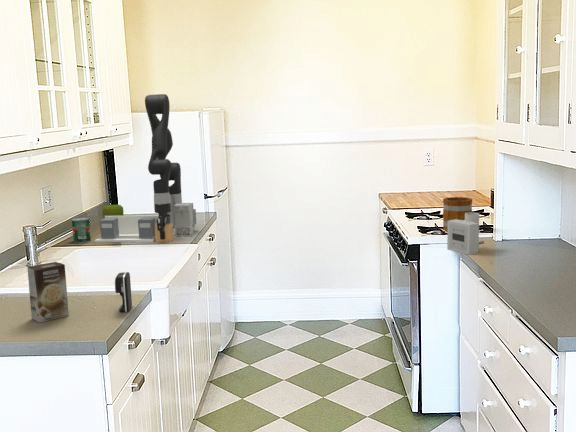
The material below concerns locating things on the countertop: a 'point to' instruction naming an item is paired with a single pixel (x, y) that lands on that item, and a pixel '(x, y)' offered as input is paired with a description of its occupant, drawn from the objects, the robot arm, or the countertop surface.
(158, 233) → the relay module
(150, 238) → the rail
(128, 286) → the battery charger
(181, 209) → the circuit breaker
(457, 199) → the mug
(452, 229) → the thermostat
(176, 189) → the robot arm
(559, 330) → the countertop surface
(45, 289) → the coffee box
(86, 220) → the canned tomato
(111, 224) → the block
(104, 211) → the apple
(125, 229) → the panel
